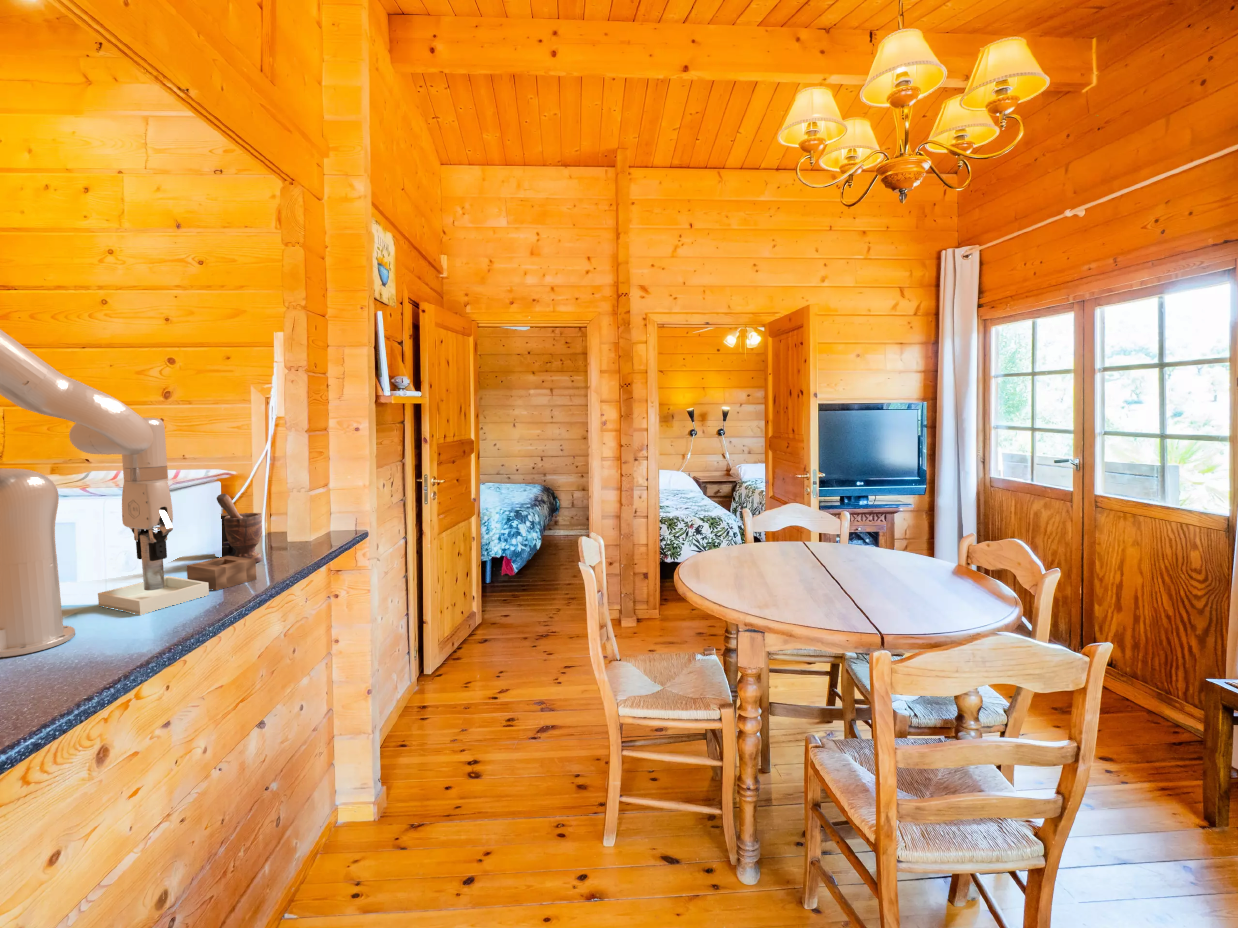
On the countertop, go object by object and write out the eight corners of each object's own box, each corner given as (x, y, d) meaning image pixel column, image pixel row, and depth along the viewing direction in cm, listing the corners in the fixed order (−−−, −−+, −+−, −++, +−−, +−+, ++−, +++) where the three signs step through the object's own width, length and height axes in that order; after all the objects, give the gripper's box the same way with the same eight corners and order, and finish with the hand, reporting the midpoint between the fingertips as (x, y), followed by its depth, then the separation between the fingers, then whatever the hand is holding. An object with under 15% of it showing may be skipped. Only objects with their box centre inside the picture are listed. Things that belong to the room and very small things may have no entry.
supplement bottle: (228, 558, 168) (226, 516, 167) (208, 557, 169) (205, 515, 168) (248, 553, 175) (245, 512, 174) (228, 551, 176) (225, 511, 175)
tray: (140, 615, 122) (139, 601, 122) (99, 606, 128) (97, 593, 127) (209, 595, 135) (208, 582, 135) (169, 588, 140) (168, 576, 140)
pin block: (216, 590, 139) (215, 569, 138) (187, 585, 142) (186, 565, 142) (256, 579, 148) (255, 559, 148) (228, 575, 152) (227, 555, 151)
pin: (150, 591, 129) (146, 536, 128) (140, 589, 130) (136, 535, 129) (168, 586, 132) (164, 533, 131) (158, 584, 133) (154, 531, 132)
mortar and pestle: (252, 568, 158) (247, 493, 156) (215, 570, 156) (210, 494, 154) (268, 557, 169) (264, 487, 167) (235, 559, 167) (230, 488, 166)
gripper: (102, 475, 128) (109, 559, 130) (151, 478, 122) (157, 566, 124) (141, 471, 135) (147, 551, 137) (189, 474, 129) (195, 558, 131)
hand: (152, 557), depth 130 cm, fingers closed on pin, 3 cm apart
